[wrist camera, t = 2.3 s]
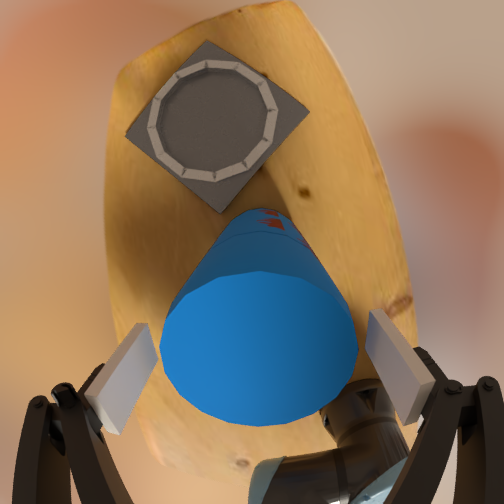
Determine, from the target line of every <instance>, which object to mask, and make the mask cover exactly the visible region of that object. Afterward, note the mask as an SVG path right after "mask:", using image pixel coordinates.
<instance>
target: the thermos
mask: <svg viewBox="0 0 504 504" xmlns="http://www.w3.org/2000/svg"><path fill="white" fill-rule="evenodd" d="M159 348H160V353H161V357H162V362H163V366H164V371H165V374H166V375H167V377H168V378H169V380H170V381H171V383H172V384H173V385H174V387H175V388H176V390H177V391H178V393H179V394H180V395H181V396H182V397H183V398H185V399H186V400H187V401H188V402H190V403H191V404H192V405H194V406H195V407H196V408H198V409H199V410H200V411H202V412H204V413H206V414H208V415H211V416H213V417H216V418H218V419H221V420H223V421H226V422H228V423H234V424H241V425H249V426H257V427H258V426H269V425H279V424H287V423H290V422H292V421H295V420H298V419H301V418H304V417H306V416H309V415H311V414H314V413H315V412H317V411H318V410H320V409H321V408H322V407H324V406H325V405H327V404H328V403H329V402H331V401H332V400H333V399H335V398H336V397H337V396H338V394H339V393H340V392H341V390H342V389H343V388H344V386H345V385H346V383H347V382H348V381H349V379H350V378H351V376H352V374H353V370H354V367H355V363H356V359H357V355H358V350H359V349H358V343H357V338H356V333H355V328H354V324H353V320H352V317H351V314H350V311H349V308H348V305H347V303H346V301H345V300H344V298H343V296H342V295H341V293H340V292H339V290H338V289H337V287H336V285H335V284H334V282H333V281H332V279H331V278H330V276H329V275H328V273H327V272H326V270H325V268H324V267H323V265H322V264H321V262H320V261H319V259H318V258H317V256H316V255H315V253H314V252H313V250H312V249H311V247H310V246H309V244H308V243H307V241H306V240H305V239H304V237H303V236H302V234H301V233H300V231H299V230H298V229H297V228H296V226H295V225H294V224H293V223H292V221H291V220H289V219H288V218H287V217H285V216H284V215H282V214H280V213H279V212H277V211H275V210H270V209H264V208H259V209H253V210H248V211H246V212H244V213H242V214H241V215H239V216H237V217H236V218H234V219H233V220H232V221H231V222H230V223H229V225H228V226H227V227H226V228H225V229H224V231H223V232H222V233H221V235H220V236H219V237H218V239H217V240H216V241H215V243H214V244H213V245H212V247H211V248H210V250H209V251H208V252H207V254H206V255H205V256H204V258H203V259H202V261H201V262H200V263H199V265H198V266H197V268H196V269H195V270H194V272H193V273H192V275H191V276H190V278H189V279H188V280H187V282H186V283H185V285H184V286H183V287H182V289H181V290H180V292H179V293H178V295H177V296H176V298H175V299H174V300H173V302H172V304H171V307H170V309H169V312H168V314H167V317H166V320H165V324H164V328H163V333H162V337H161V341H160V346H159Z"/></svg>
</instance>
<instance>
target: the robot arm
mask: <svg viewBox="0 0 504 504" xmlns="http://www.w3.org/2000/svg"><path fill="white" fill-rule="evenodd" d="M365 350H366V352H367V354H368V356H369V357H370V359H371V361H372V363H373V365H374V367H375V369H376V371H377V373H378V375H379V377H380V379H381V380H378V379H366V380H360V381H357V382H354V383H351V384H349V385H346V386H344V388H343V389H342V390H341V392H340V393H339V394H338V396H337V397H336V398H335V399H333V400H332V401H331V402H329V403H328V404H327V405H325V406H324V407H322V409H321V418H322V422H323V425H324V427H325V429H326V430H327V431H328V433H329V434H330V435H331V437H332V438H333V439H334V441H335V442H336V444H337V447H338V448H336V449H332V450H327V451H322V452H317V453H311V454H304V455H297V456H290V457H287V456H283V457H281V458H274V459H267V460H263V461H261V462H260V463H258V465H257V466H256V467H255V469H254V471H253V474H252V478H251V482H250V487H249V496H248V504H431V502H432V500H433V497H434V495H435V493H436V491H437V488H438V486H439V483H440V481H441V478H442V475H443V472H444V470H445V467H446V464H447V461H448V458H449V455H450V451H451V449H452V445H453V441H454V438H455V434H456V430H458V431H457V432H458V433H457V435H458V436H457V438H458V447H457V448H458V451H457V471H456V472H457V473H456V483H455V492H454V500H453V504H504V402H503V398H502V393H501V390H500V386H499V383H498V381H497V380H496V379H495V378H492V377H490V376H484V377H481V378H480V379H479V380H478V382H477V384H476V385H474V386H463V385H462V384H461V383H460V382H458V381H455V380H448V378H447V377H446V376H445V374H444V373H443V372H442V370H441V369H440V368H439V366H438V365H437V364H436V363H435V361H434V360H433V359H432V358H431V356H430V355H429V354H428V352H427V351H425V350H424V349H422V348H421V347H416V348H412V347H411V346H410V344H409V343H408V342H407V340H406V339H405V338H404V337H403V335H402V334H401V333H400V331H399V330H398V329H397V328H396V326H395V325H394V324H393V322H392V321H391V320H390V319H389V317H388V316H387V315H386V314H385V312H384V311H383V310H382V309H374V310H370V312H369V321H368V329H367V336H366V343H365ZM157 361H158V357H157V354H156V351H155V347H154V344H153V341H152V338H151V334H150V331H149V327H148V324H147V323H136V325H135V326H134V327H133V328H132V330H131V331H130V332H129V334H128V335H127V336H126V337H125V339H124V340H123V341H122V343H121V344H120V345H119V347H118V348H117V349H116V351H115V352H114V353H113V355H112V356H111V357H110V359H109V360H108V361H107V363H106V364H103V363H102V364H101V365H99V366H98V367H97V368H95V369H94V371H93V372H92V373H91V375H90V376H89V377H88V380H86V381H85V383H84V384H83V385H82V387H81V388H80V390H79V391H78V392H76V391H75V389H74V387H73V385H72V384H70V383H66V382H65V383H60V384H58V385H56V386H55V387H54V388H53V389H52V391H51V395H52V397H53V398H54V400H55V402H56V403H50V402H49V401H48V399H47V398H46V397H45V396H42V395H40V396H36V397H34V398H33V399H32V400H31V401H30V403H29V405H28V408H27V412H26V416H25V420H24V424H23V428H22V432H21V437H20V442H19V447H18V453H17V459H16V465H15V473H14V482H13V494H12V504H72V503H71V485H70V468H71V472H72V475H73V479H74V482H75V485H76V489H77V492H78V495H79V498H80V501H81V503H82V504H134V503H133V501H132V500H131V497H130V496H129V494H128V492H127V490H126V488H125V486H124V484H123V482H122V479H121V477H120V475H119V473H118V471H117V469H116V466H115V464H114V462H113V459H112V457H111V454H110V452H109V449H108V447H107V444H106V441H105V439H104V436H103V433H102V432H101V430H100V429H101V427H102V425H103V426H104V427H105V429H106V430H107V432H110V433H113V434H117V435H121V433H122V430H123V428H124V426H125V424H126V422H127V420H128V418H129V416H130V414H131V412H132V410H133V408H134V406H135V404H136V402H137V400H138V398H139V396H140V394H141V392H142V390H143V388H144V386H145V384H146V382H147V380H148V378H149V376H150V374H151V372H152V370H153V369H154V367H155V365H156V363H157ZM395 410H396V412H397V414H398V416H399V418H400V420H401V422H402V425H403V426H405V425H409V424H412V423H415V422H417V421H418V419H419V417H420V415H421V414H422V416H423V418H424V420H423V422H422V425H421V426H420V428H419V430H418V432H417V433H418V435H417V437H416V440H415V442H414V444H413V447H412V449H411V451H410V450H409V448H408V446H407V443H406V441H405V439H404V437H403V434H402V432H401V430H400V428H399V426H398V424H397V422H396V419H395Z"/></svg>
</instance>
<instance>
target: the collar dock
mask: <svg viewBox="0 0 504 504" xmlns="http://www.w3.org/2000/svg"><path fill="white" fill-rule="evenodd" d="M309 113H310V111H309V110H307V109H306V108H305V107H304V106H303V105H301V104H300V103H299V102H298V101H296V100H295V99H294V98H293V97H291V96H290V95H289V94H287V93H286V92H285V91H283V90H282V89H281V88H279V87H278V86H277V85H275V84H274V83H273V82H271V81H270V80H269V79H267V78H266V77H264V76H263V75H261V74H260V73H259V72H257V71H256V70H254V69H253V68H251V67H250V66H248V65H247V64H245V63H244V62H242V61H240V60H239V59H237V58H236V57H234V56H233V55H231V54H229V53H228V52H226V51H224V50H223V49H221V48H219V47H218V46H216V45H214V44H212V43H211V42H209V41H206V42H205V43H204V44H203V45H201V46H200V47H199V48H198V49H197V50H196V51H195V52H194V53H193V54H192V55H191V56H190V57H189V58H188V60H187V61H186V62H185V63H184V64H183V65H182V66H181V67H180V68H179V69H178V70H177V71H176V72H175V73H174V74H173V75H172V77H171V78H170V79H169V80H168V81H167V82H166V83H165V85H164V86H163V87H162V88H161V89H160V90H159V92H158V93H157V94H156V95H155V97H154V98H153V99H152V100H151V102H150V103H149V104H148V106H147V107H146V108H145V109H144V111H143V112H142V113H141V115H140V116H139V117H138V119H137V120H136V121H135V123H134V124H133V125H132V127H131V128H130V130H129V131H128V132H127V134H126V135H125V137H126V138H127V139H129V140H130V141H131V142H132V143H133V144H135V145H136V146H137V147H138V148H140V149H141V150H142V151H143V152H145V153H146V154H147V155H148V156H150V157H151V158H152V159H153V160H154V161H156V162H157V163H158V164H159V165H161V166H162V167H163V168H164V169H166V170H167V171H168V172H169V173H170V174H172V175H173V176H174V177H175V178H177V179H178V180H179V181H180V182H182V183H183V184H184V185H185V186H186V187H188V188H189V189H190V190H191V191H193V192H194V193H195V194H196V195H197V196H199V197H200V198H201V199H202V200H204V201H205V202H206V203H207V204H208V205H210V206H211V207H212V208H213V209H214V210H216V211H217V212H218V213H219V214H221V213H222V212H223V211H224V210H225V208H226V207H227V206H228V205H229V203H230V202H231V201H232V200H233V199H234V197H235V196H236V195H237V194H238V193H239V192H240V190H241V189H242V188H243V187H244V186H245V184H246V183H247V182H248V181H249V180H250V179H251V177H252V176H253V175H254V174H255V173H256V172H257V170H258V169H259V168H260V167H261V166H262V165H263V164H264V162H265V161H266V160H267V159H268V158H269V157H270V156H271V154H272V153H273V152H274V151H275V150H276V149H277V148H278V147H279V145H280V144H281V143H282V142H283V141H284V140H285V139H286V138H287V137H288V136H289V134H290V133H291V132H292V131H293V130H294V129H295V128H296V127H297V126H298V125H299V124H300V122H301V121H302V120H303V119H304V118H305V117H306V116H307V115H308V114H309Z"/></svg>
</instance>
